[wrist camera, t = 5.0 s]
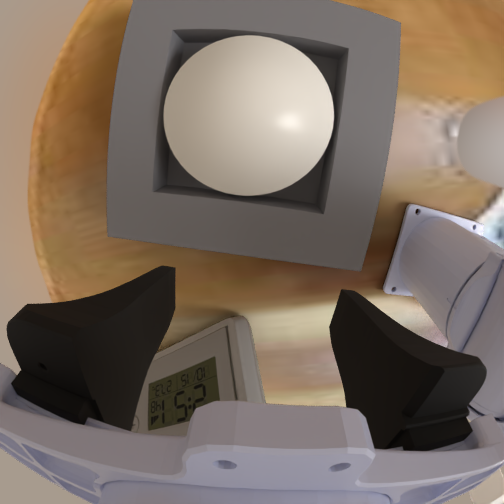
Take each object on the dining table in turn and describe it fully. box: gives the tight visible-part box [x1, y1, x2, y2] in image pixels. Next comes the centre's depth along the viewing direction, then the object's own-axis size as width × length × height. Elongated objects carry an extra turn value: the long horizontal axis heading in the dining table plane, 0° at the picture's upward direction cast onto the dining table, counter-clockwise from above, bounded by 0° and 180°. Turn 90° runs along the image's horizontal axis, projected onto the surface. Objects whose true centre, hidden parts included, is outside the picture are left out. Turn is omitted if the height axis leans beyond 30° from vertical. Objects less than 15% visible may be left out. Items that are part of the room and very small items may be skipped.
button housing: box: [107, 0, 401, 271], centre depth 17 cm, size 18×18×4 cm
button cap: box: [164, 35, 334, 196], centre depth 17 cm, size 10×10×3 cm
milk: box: [467, 419, 504, 504], centre depth 24 cm, size 6×6×22 cm
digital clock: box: [131, 316, 266, 436], centre depth 22 cm, size 16×9×11 cm, turn 112°
